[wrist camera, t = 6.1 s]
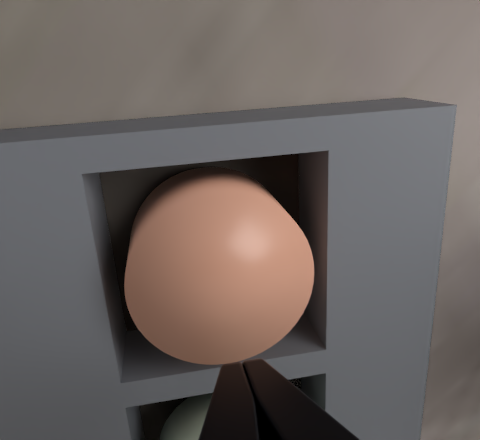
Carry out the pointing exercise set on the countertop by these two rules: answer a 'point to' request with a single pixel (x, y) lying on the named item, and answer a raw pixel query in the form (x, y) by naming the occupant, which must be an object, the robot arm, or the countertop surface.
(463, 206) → the countertop surface
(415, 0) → the countertop surface
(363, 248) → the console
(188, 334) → the button terracotta
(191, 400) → the button sage
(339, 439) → the robot arm
